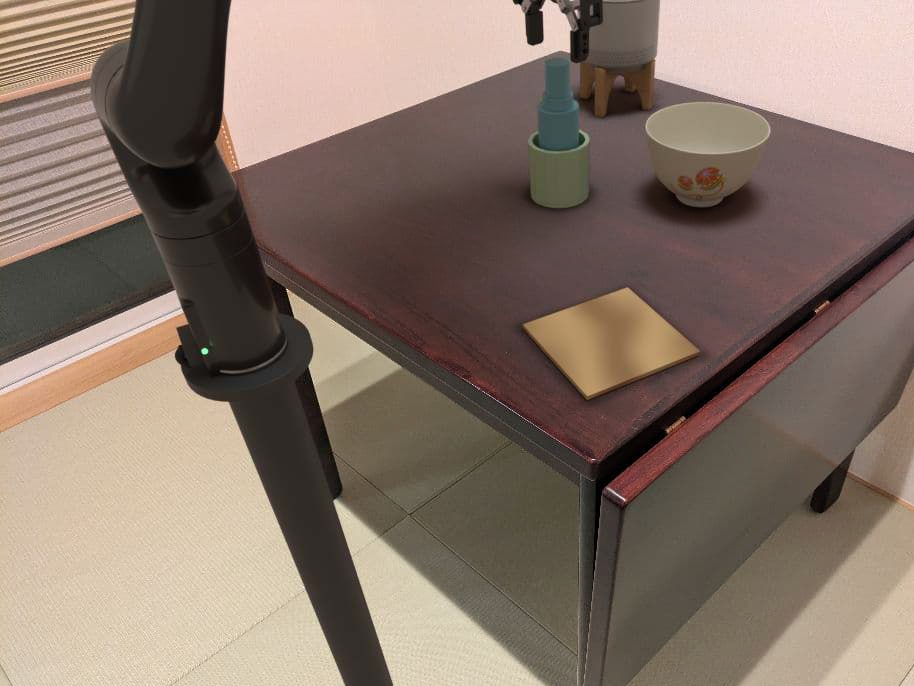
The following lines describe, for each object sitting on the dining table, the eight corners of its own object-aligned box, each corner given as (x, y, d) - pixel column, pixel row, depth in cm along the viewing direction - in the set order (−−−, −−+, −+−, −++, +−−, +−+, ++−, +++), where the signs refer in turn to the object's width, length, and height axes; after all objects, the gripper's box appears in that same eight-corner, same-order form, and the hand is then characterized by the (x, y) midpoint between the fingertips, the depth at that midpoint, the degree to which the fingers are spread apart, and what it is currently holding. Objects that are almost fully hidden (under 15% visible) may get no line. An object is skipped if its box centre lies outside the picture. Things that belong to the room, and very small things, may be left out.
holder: (548, 214, 107) (546, 158, 102) (520, 189, 113) (517, 135, 107) (600, 198, 110) (600, 143, 105) (570, 175, 115) (569, 121, 110)
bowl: (621, 208, 108) (624, 137, 101) (671, 161, 118) (676, 93, 111) (732, 237, 101) (743, 163, 94) (775, 185, 111) (788, 115, 104)
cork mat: (587, 400, 79) (587, 396, 79) (522, 328, 89) (522, 324, 88) (699, 355, 84) (700, 350, 84) (627, 291, 93) (627, 286, 93)
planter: (564, 110, 133) (562, -5, 121) (598, 83, 141) (600, -27, 129) (634, 123, 128) (640, 5, 116) (666, 95, 136) (674, -19, 124)
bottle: (552, 203, 108) (548, 73, 96) (533, 187, 112) (528, 59, 100) (586, 192, 110) (586, 64, 98) (566, 177, 114) (565, 51, 102)
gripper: (488, -103, 90) (498, 46, 101) (568, -84, 81) (570, 75, 92) (539, -113, 93) (544, 32, 104) (622, -97, 85) (618, 59, 96)
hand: (556, 52), depth 98 cm, fingers open, 8 cm apart
